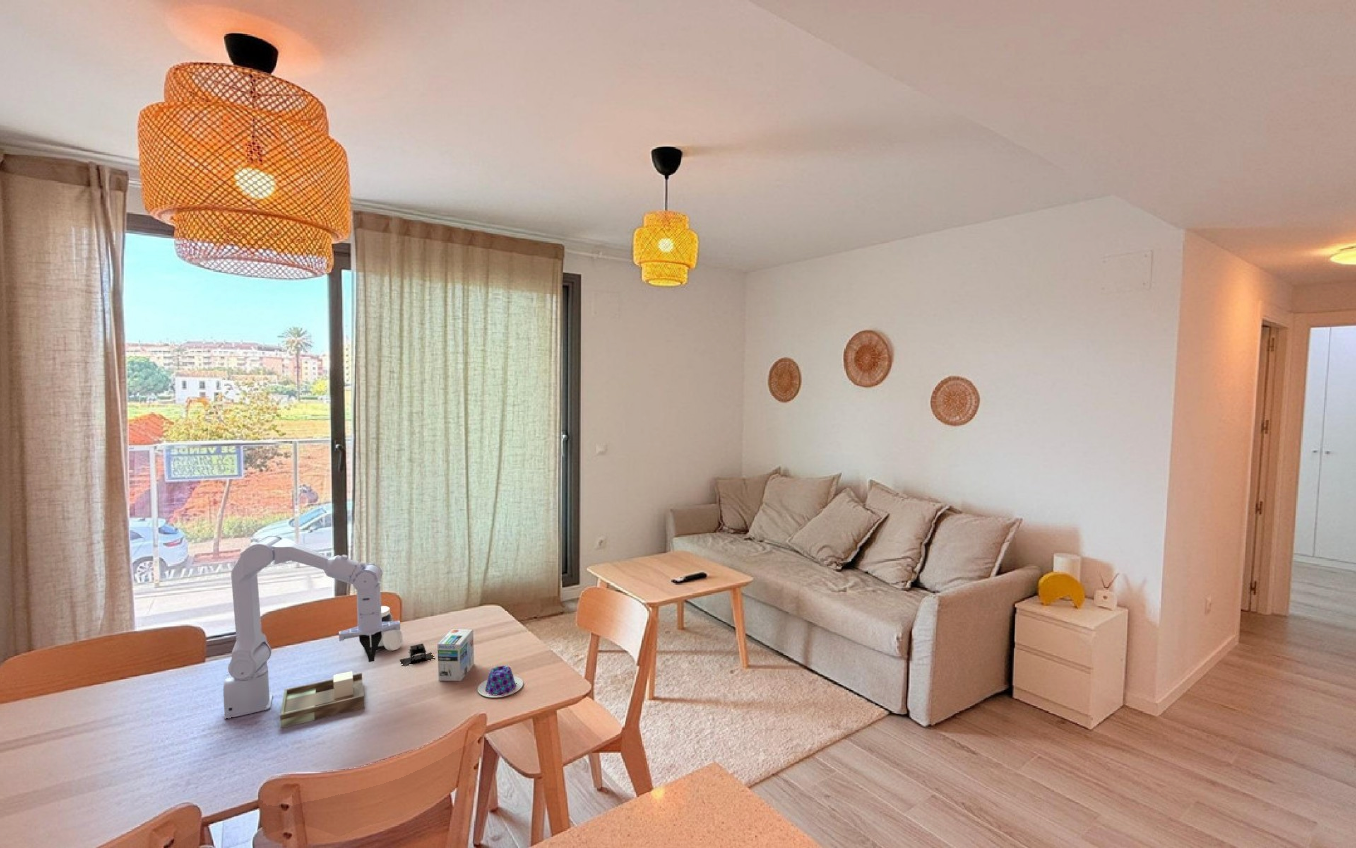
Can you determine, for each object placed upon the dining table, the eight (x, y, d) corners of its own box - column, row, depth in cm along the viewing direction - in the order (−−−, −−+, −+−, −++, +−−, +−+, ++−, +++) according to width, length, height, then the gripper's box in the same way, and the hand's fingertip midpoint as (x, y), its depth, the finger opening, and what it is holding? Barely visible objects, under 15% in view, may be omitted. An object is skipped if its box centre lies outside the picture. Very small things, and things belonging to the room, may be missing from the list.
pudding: (493, 675, 171) (493, 657, 171) (531, 680, 168) (530, 662, 168) (468, 696, 160) (468, 677, 159) (508, 703, 157) (508, 683, 156)
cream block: (334, 698, 154) (333, 682, 154) (334, 691, 158) (333, 675, 158) (353, 694, 156) (352, 678, 156) (353, 686, 160) (352, 671, 160)
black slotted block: (396, 671, 174) (396, 656, 174) (393, 661, 180) (393, 646, 180) (441, 660, 181) (441, 646, 180) (437, 651, 187) (436, 637, 187)
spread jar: (371, 640, 194) (369, 605, 193) (408, 637, 196) (407, 602, 195) (358, 656, 182) (357, 619, 181) (398, 653, 184) (396, 617, 183)
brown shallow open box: (280, 728, 145) (280, 715, 144) (285, 701, 157) (284, 689, 157) (364, 708, 154) (363, 696, 153) (362, 684, 166) (361, 672, 165)
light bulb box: (461, 681, 167) (460, 644, 166) (437, 681, 167) (436, 644, 166) (474, 663, 178) (474, 628, 177) (452, 663, 178) (451, 628, 177)
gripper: (338, 621, 152) (340, 673, 153) (400, 610, 159) (402, 660, 160) (338, 612, 158) (340, 662, 159) (398, 602, 165) (399, 649, 166)
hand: (371, 660), depth 160 cm, fingers closed
